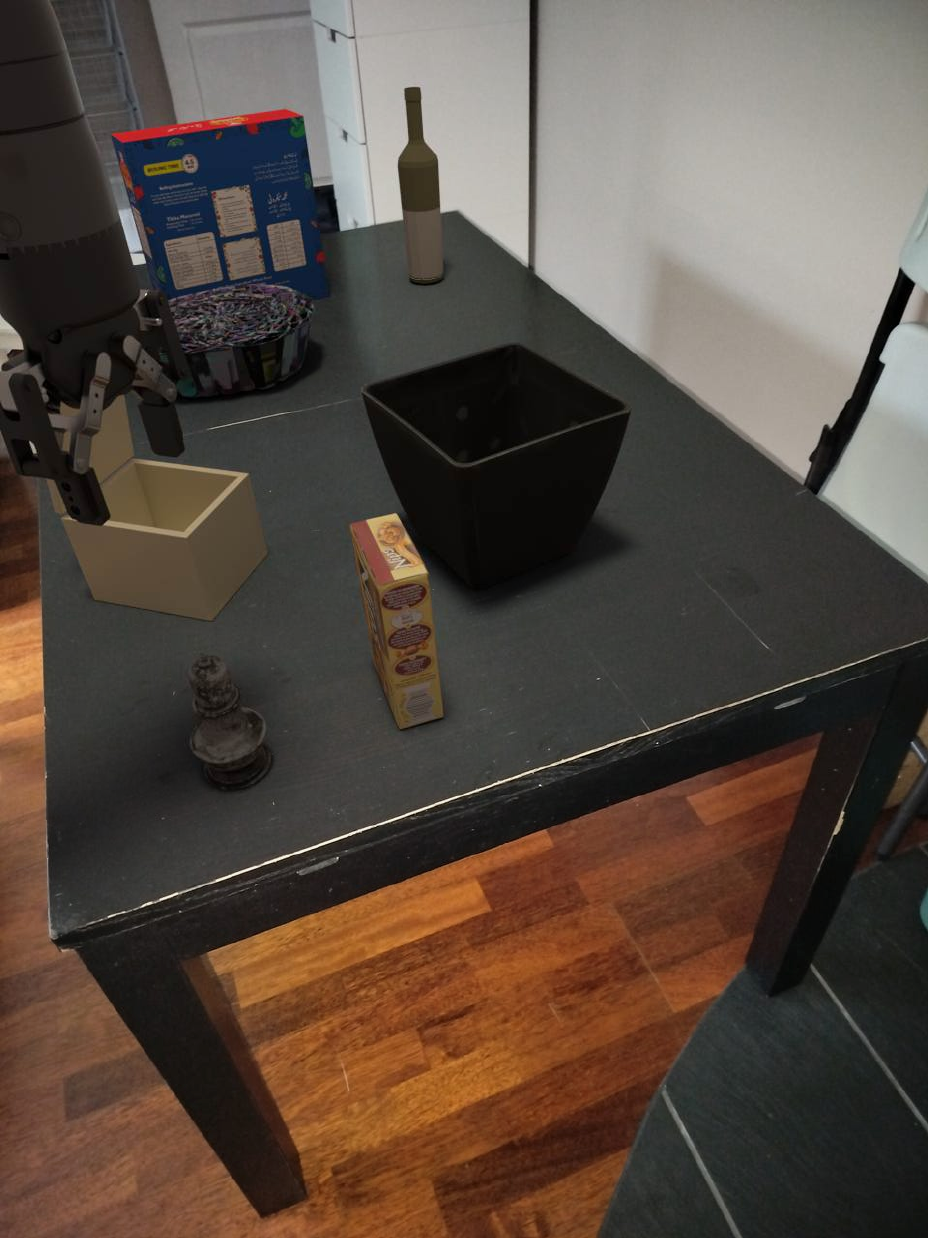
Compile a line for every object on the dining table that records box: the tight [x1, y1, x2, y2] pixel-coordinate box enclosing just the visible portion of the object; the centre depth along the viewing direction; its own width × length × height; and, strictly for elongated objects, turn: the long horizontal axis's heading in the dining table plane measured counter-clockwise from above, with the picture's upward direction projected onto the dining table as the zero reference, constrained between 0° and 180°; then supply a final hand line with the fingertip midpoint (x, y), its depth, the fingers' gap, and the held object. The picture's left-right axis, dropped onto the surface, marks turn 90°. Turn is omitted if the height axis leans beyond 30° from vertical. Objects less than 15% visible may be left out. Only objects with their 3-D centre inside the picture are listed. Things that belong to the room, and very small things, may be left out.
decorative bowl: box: [158, 284, 316, 399], centre depth 126 cm, size 26×28×10 cm
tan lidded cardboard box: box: [60, 457, 269, 622], centre depth 86 cm, size 14×12×10 cm
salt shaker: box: [187, 652, 272, 791], centre depth 65 cm, size 6×6×12 cm
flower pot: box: [360, 341, 633, 589], centre depth 85 cm, size 19×19×17 cm
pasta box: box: [110, 108, 330, 301], centre depth 141 cm, size 28×8×28 cm, turn 119°
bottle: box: [397, 86, 444, 285], centre depth 146 cm, size 7×7×30 cm
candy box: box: [349, 512, 444, 730], centre depth 69 cm, size 9×4×15 cm, turn 20°
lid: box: [0, 351, 135, 515], centre depth 80 cm, size 14×12×5 cm
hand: (133, 486), depth 55 cm, fingers open, 8 cm apart
